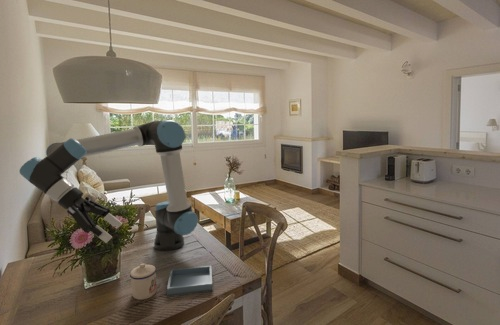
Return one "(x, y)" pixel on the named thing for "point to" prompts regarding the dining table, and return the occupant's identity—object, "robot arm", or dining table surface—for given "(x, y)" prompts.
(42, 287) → the dining table surface
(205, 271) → the slate tray
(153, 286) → the teacup with lid
